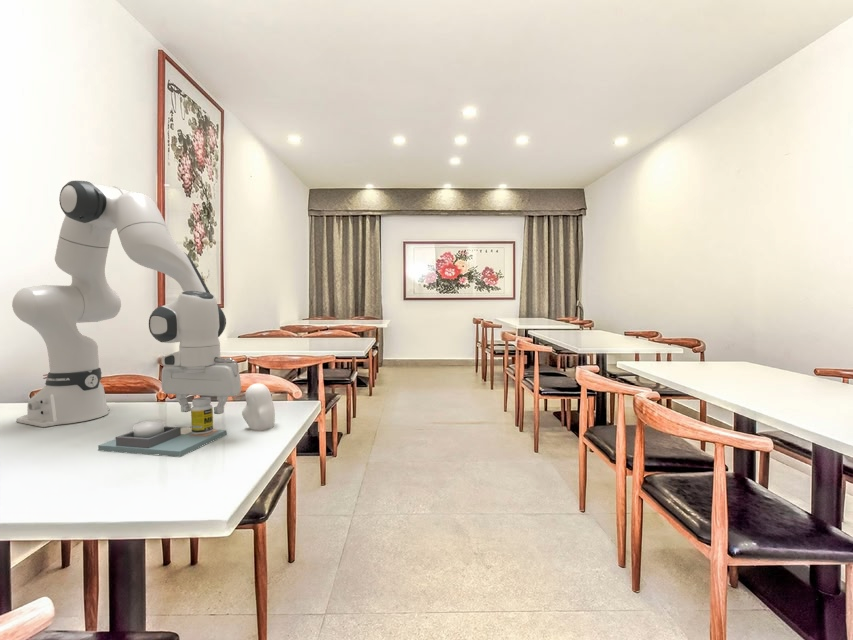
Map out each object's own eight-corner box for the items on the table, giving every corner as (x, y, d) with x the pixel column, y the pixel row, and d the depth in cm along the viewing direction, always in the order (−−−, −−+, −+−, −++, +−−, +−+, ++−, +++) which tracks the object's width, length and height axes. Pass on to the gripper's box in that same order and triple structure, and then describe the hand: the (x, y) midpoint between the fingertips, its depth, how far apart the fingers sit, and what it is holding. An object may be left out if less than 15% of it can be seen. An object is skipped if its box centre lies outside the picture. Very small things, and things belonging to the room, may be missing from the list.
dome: (127, 443, 96) (126, 425, 96) (149, 435, 102) (149, 417, 101) (149, 445, 94) (148, 426, 94) (170, 436, 100) (169, 418, 100)
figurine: (239, 430, 108) (237, 385, 108) (259, 422, 116) (257, 379, 115) (262, 432, 106) (260, 386, 106) (281, 424, 113) (279, 380, 113)
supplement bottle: (206, 435, 101) (205, 400, 100) (187, 435, 101) (186, 401, 100) (217, 428, 105) (215, 396, 105) (199, 428, 106) (197, 396, 105)
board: (98, 450, 95) (97, 436, 95) (154, 430, 110) (153, 418, 110) (179, 456, 90) (179, 442, 90) (226, 434, 105) (226, 422, 105)
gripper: (245, 356, 103) (247, 411, 104) (176, 354, 107) (178, 407, 108) (228, 360, 97) (230, 418, 97) (155, 358, 101) (157, 413, 102)
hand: (202, 412), depth 103 cm, fingers open, 8 cm apart
